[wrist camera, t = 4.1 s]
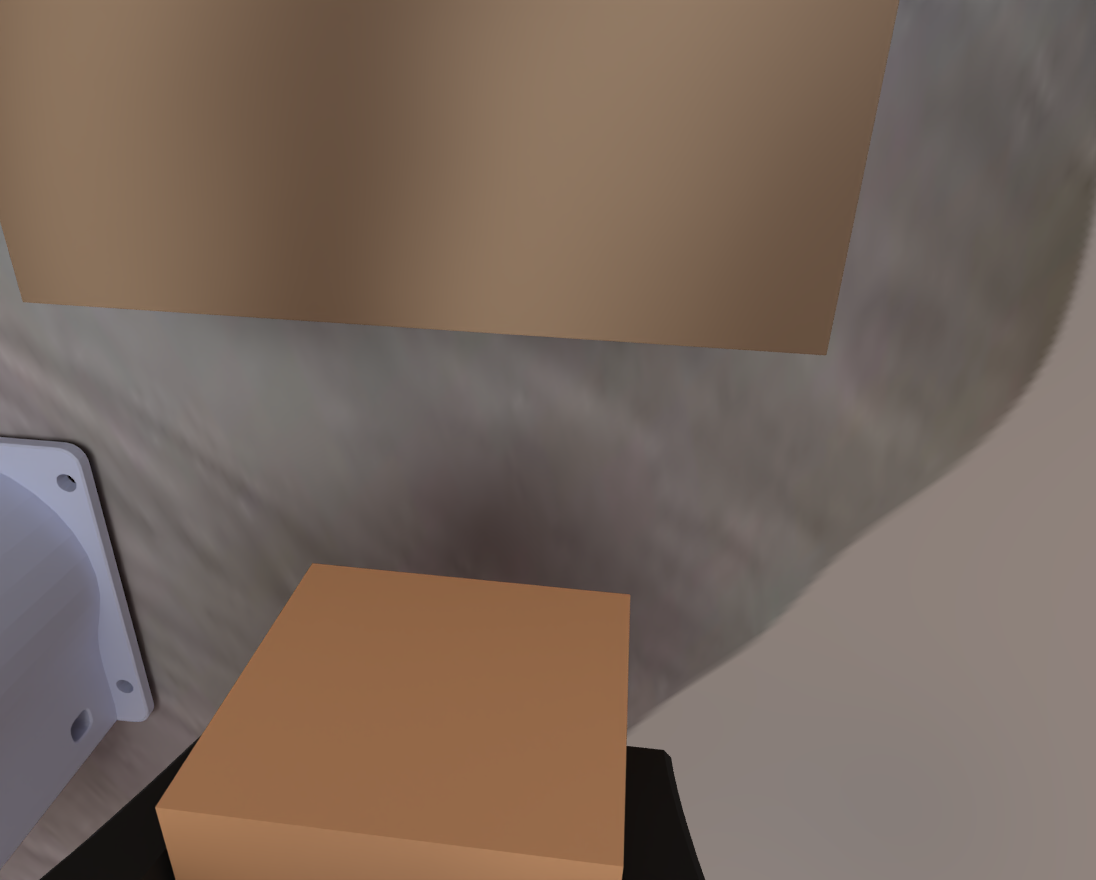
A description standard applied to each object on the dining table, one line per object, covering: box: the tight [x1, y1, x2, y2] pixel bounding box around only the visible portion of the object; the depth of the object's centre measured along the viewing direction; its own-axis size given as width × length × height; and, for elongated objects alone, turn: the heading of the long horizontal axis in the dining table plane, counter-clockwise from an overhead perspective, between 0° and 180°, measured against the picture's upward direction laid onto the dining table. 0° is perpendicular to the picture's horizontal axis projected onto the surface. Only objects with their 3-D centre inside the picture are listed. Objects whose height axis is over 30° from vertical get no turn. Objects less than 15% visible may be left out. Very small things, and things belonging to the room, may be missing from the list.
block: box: [155, 563, 630, 880], centre depth 10 cm, size 4×4×4 cm
